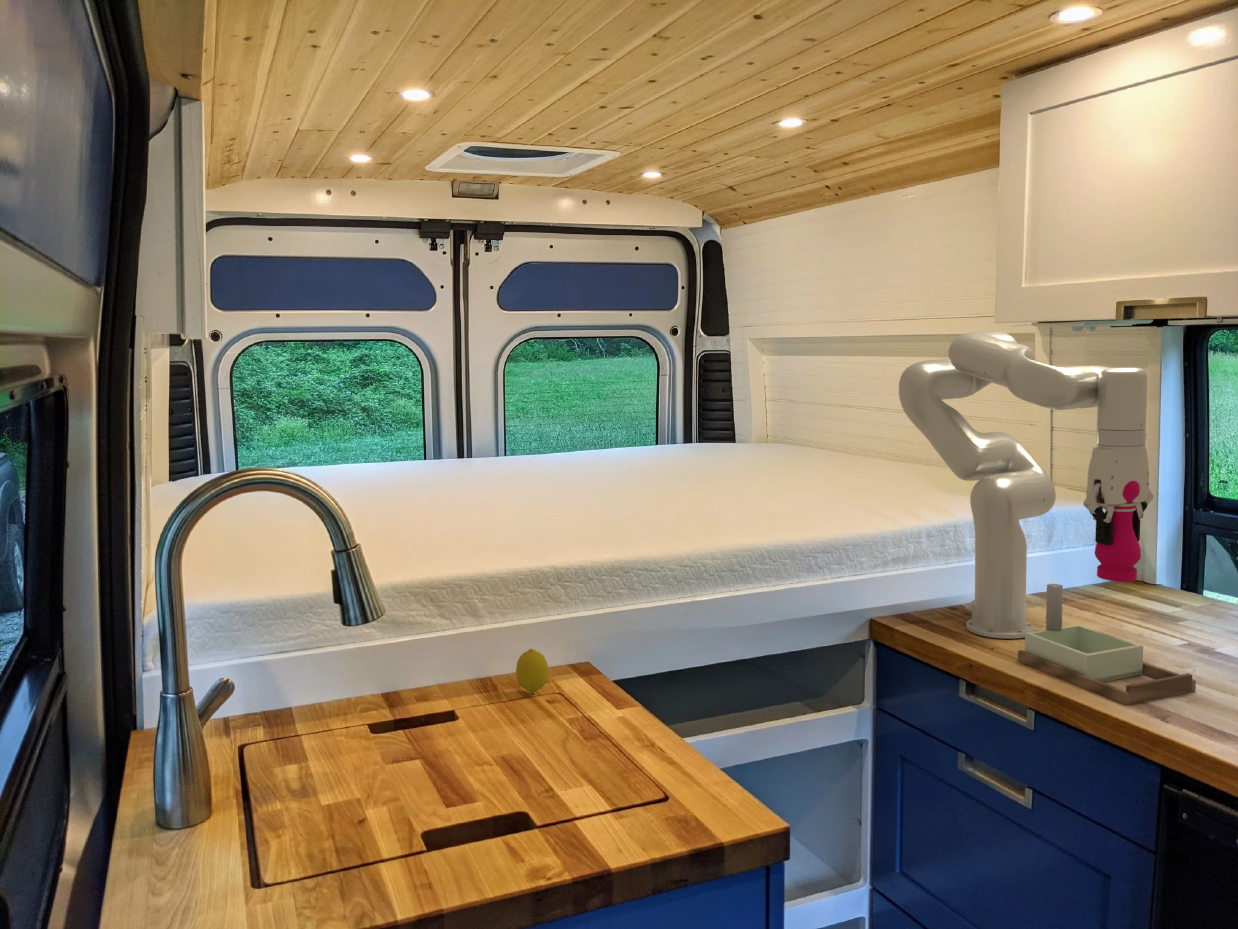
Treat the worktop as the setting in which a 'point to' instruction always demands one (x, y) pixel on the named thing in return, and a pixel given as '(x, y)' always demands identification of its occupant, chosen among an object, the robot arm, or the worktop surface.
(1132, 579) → the pepper mill
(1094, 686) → the bay
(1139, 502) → the robot arm
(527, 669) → the lemon
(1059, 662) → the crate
